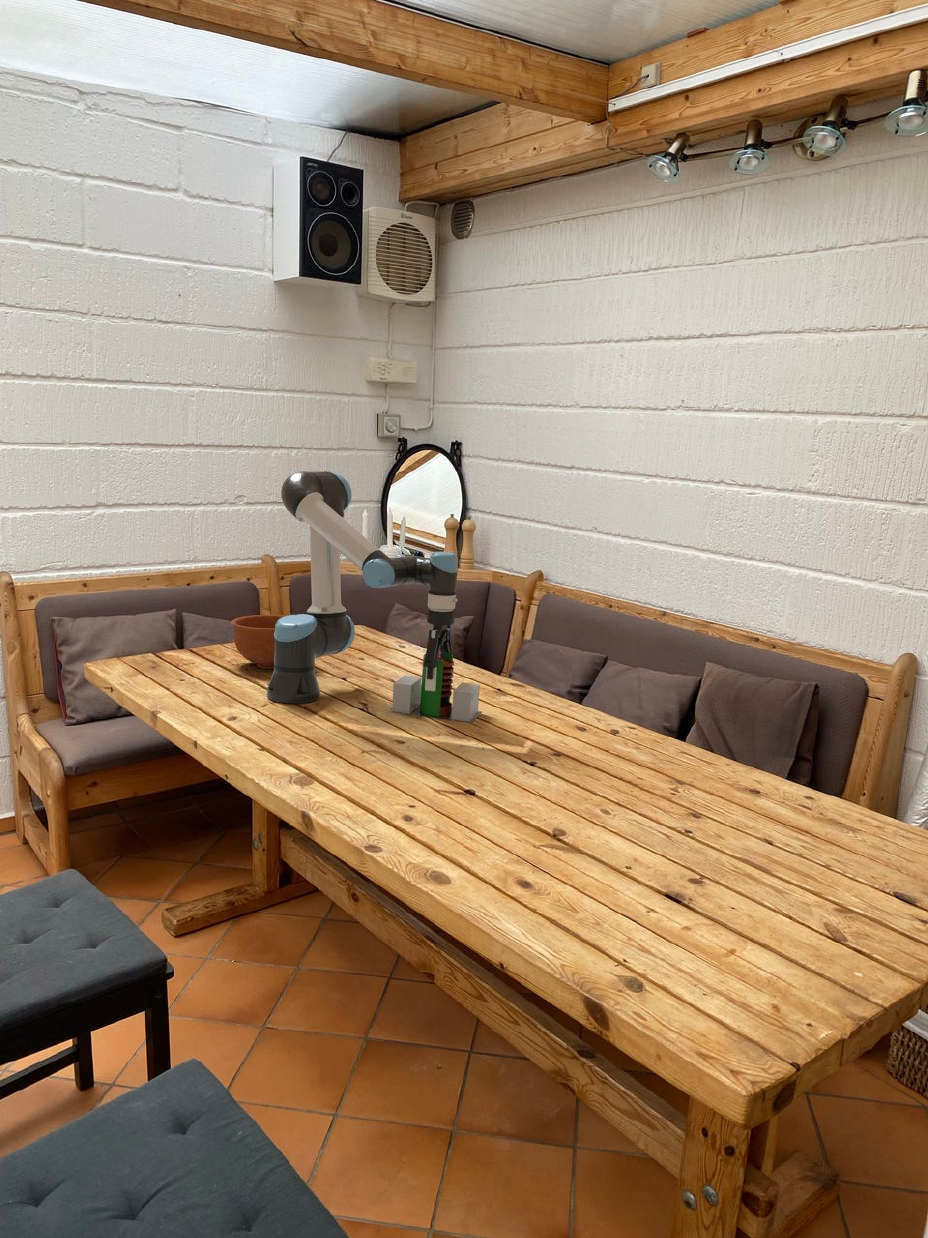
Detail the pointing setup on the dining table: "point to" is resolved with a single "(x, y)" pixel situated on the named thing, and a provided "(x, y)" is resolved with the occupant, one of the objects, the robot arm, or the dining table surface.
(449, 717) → the rail plate
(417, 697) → the block
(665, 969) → the dining table surface
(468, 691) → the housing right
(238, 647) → the bowl
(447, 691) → the motor
